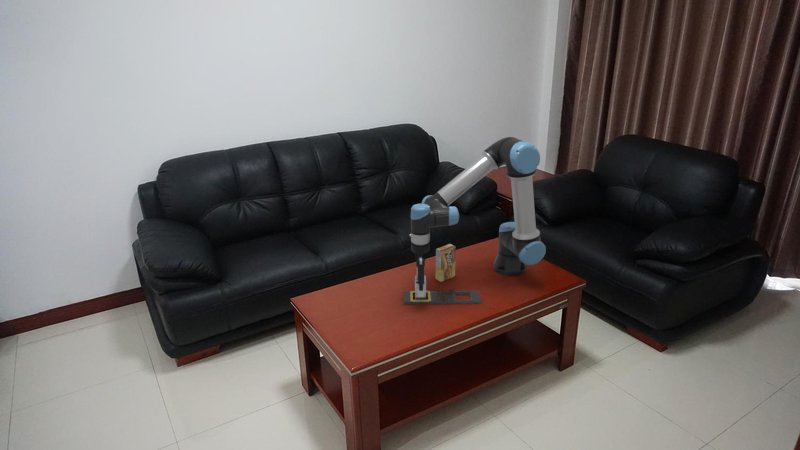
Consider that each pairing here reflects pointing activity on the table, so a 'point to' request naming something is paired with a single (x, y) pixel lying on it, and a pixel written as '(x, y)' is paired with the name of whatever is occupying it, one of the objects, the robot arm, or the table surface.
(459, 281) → the table surface
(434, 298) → the rail
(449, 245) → the candy box
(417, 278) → the steel block
